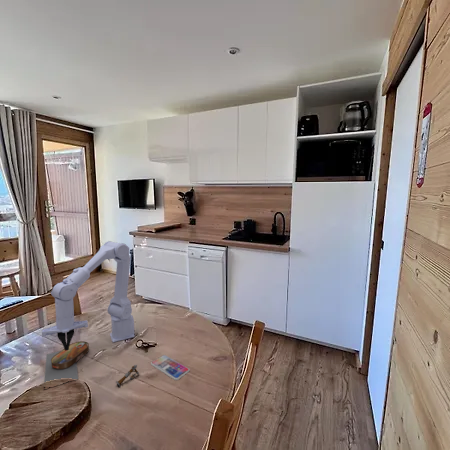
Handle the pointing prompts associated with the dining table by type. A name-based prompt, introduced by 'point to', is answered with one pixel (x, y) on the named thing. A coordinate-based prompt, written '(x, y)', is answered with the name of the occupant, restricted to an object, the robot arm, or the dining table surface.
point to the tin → (70, 355)
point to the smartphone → (170, 367)
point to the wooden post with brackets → (128, 375)
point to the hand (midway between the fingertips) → (66, 348)
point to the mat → (59, 370)
